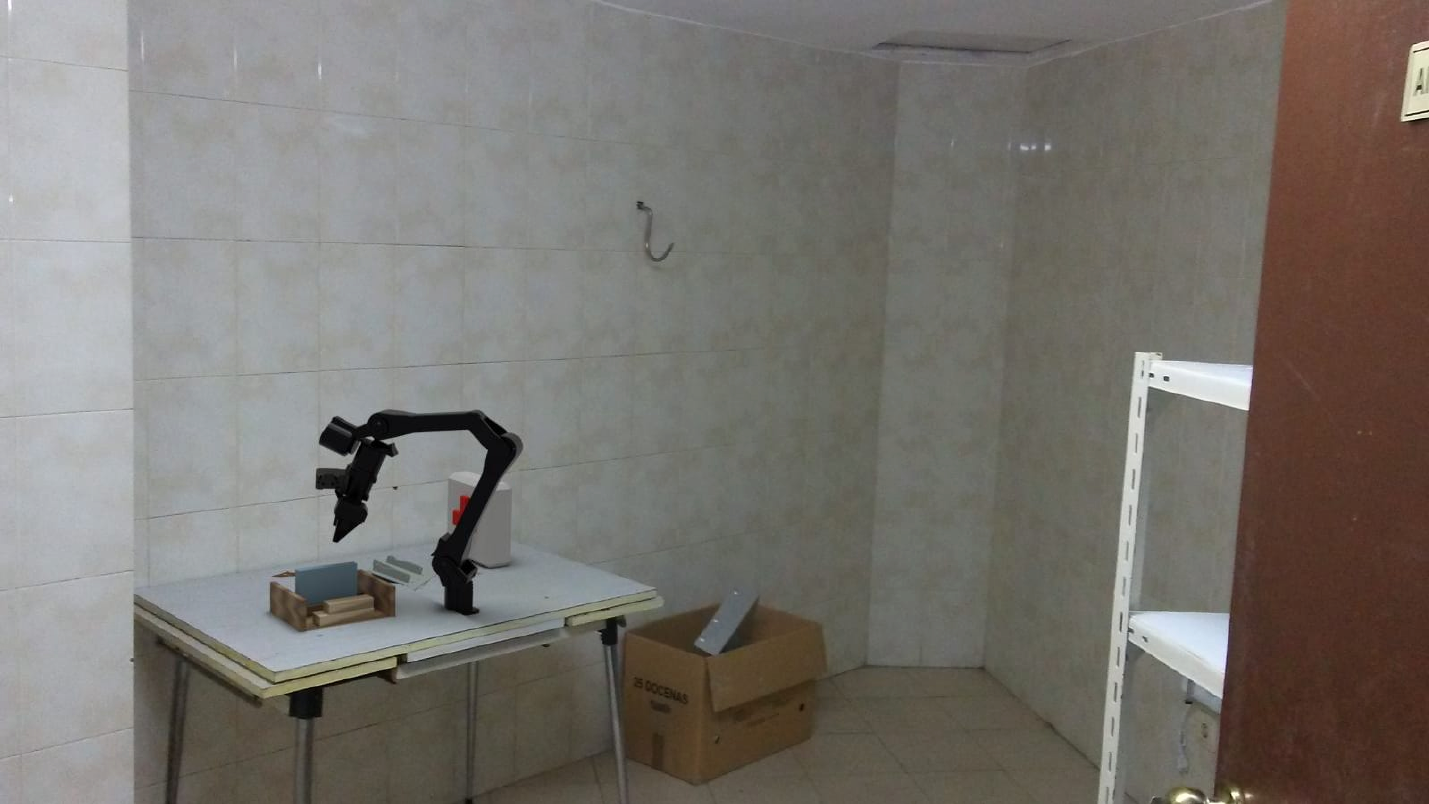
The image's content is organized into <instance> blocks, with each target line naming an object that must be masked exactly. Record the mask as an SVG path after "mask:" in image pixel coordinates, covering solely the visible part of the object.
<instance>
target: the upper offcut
mask: <svg viewBox="0 0 1429 804" xmlns="http://www.w3.org/2000/svg"><path fill="white" fill-rule="evenodd" d="M369 608H374V598H373V597H371V596H369V595H367V594H366V595H359V596H353V597H346V598H340V599H333V600H327V601H323V611H324V612H325V613H327V614H329V615H332V614H338V613H344V612H350V611H356V610H362V609H369Z"/></svg>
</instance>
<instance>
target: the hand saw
mask: <svg viewBox="0 0 1429 804" xmlns="http://www.w3.org/2000/svg"><path fill="white" fill-rule="evenodd" d="M284 574H285V575H284ZM286 574H287V575H286ZM271 577H276V578H281V577H286V578H290V577H293V578H295V572H290V570H289V571H288V570H287V571H286V570H285V571H284V572H282V573H280V574H279V573H278V574H275V575H272V576H271Z"/></svg>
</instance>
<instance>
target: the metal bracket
mask: <svg viewBox="0 0 1429 804" xmlns="http://www.w3.org/2000/svg"><path fill="white" fill-rule="evenodd" d="M423 568H424V567H423V566H421V565H419V564H416V563H413V562H412V561H411V562H410V561H408V560H399V559H397V558H395V556H394V555H392V554H389V555H387V556H386V558H384V559H381V560H378V559H376V558H375V559H373V562H372V565H371V566H370V567H369V568H367V569H365V571H366V572H368V573H370V574H372V575H374V576H377V577H379V578H380V577H381V578H383V579H386V580H387V581H388V580H389V581H391V582H394V583H396V584H399V585H402V587H405V588H407V589H410V590H412V591H414V592H416V591H418V590H420V589H419V587H420V586H421V587H422V585H423V586H424V585H426V584H427V583H428V581H429V580H430V579H431V578H433V577H436V576H437V574H436V573H435V572H434V571H431V570H428V569H426V570H424V571H423ZM437 577H438V576H437ZM437 577H436V578H437ZM430 581H431V580H430ZM430 581H429V582H430ZM421 587H420V588H421Z"/></svg>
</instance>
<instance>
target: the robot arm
mask: <svg viewBox="0 0 1429 804" xmlns="http://www.w3.org/2000/svg"><path fill="white" fill-rule="evenodd" d="M457 431H469V432H470V434H472V435H473V436H474V438H475V439H476V440H477V441H478V442H479V444H480V445H481V446H482V447H483V448H484V449H486V450H487V452H486V455H485V459H484V462H483V463H484V464H483V469H482V473H481V474H480V475H481V477H480V479H479V481H478V483H477V485H476V487H475V489H474V491H473V493H472V495H471V497H470V499H469V501H468V503H467V505H466V507H465V509H464V511H463V513H462V515H461V517H460V519H459V521H458V523H457V525H456V527H455V529H454V531H453V533H452V534H450V533H448V532H447V531H446V533H445V534H443V535H442V536H441V537H439V538H438V541H437V544H436V548H435V549H434V551H433V553H431V554H430V556H431V557H432V560H431V567H432V570H433V572H434V573H436V574H437V575H438V576H437V577H439V580H440V584H441V585H442V587H443V588H444V589H443V590H444V591H443V595H444V597H443V605H444V609H445V610H448V611H453V612H454V611H455V612H456V613H458V614H460V615H464V616H466V615H470V613H471V614H475V613H479V612H480V608H477V607H475V606H474V581H473V579H474V578H475V577H476V575H477V573H478V572H479V571H478V570H479V568H478V567H477V565H475V563H474V562H472V560H470V559H469V558H468V556H469V552H470V549H471V543H472V538H473V535H474V533H475V531H476V529H477V527H478V525H479V523H480V521H481V519H482V517H483V515H484V513H485V511H486V509H487V507H488V505H489V503H490V501H491V499H492V497H493V495H494V493H495V491H496V489H497V487H498V485H499V483H500V481H501V480H502V479H503V477H504V476H505V475H506V473H508V472H509V470H510V469H511V467H512V466H513V465H514V464H515V462H516V461H518V460H517V459H518V458H519V456H521V454H522V452H523V450H524V443H523V441H522V438H520V436H519V435H517V434H516V433H514V432H508V431H507V429H505V428H504V427H503V426H502V425H501V424H498V423H497V422H496V421H494V420H493V419H492V418H490V417H489V416H487V414H485V413H484V411H482V410H480V409H473V410H463V411H443V412H442V411H441V412H428V413H427V412H424V413H417V412H410V411H406V410H398V409H390V408H386V409H383V410H381V411H380V410H379V411H376V412H374V413H372V414H371V415H370V416H369V417H368V419H367V421H366V423H363V424H360V425H358V426H357V425H355V424H353V423H351V422H349V421H347V420H346V419H344V418H343V417H341V416H339V415H336V416H333V417H332V419H331V421H330V422H329V423H328V424H327V426H326V427H325V428H324V430H322V431H321V434H320V436H319V438H318V439H319V440H318V444H319V446H321V447H323V448H326V449H327V450H329V451H332V452H333V453H336V454H337V455H339V456H342V457H344V458H345V457H347V456H348V455H354V457H353V459H352V461H351V462H349V463H347V465H346V467H345V469H344V468H337V467H333V468H332V467H319V468H316V470H315V483H314V484H315V485H314V486H315V488H314V489H316V490H318V491H323V490H334V494H335V496H336V497H337V500H336V502H335V504H334V505H335V506H334V508H333V514H334V518H333V522H332V525H333V527H335V529H334V531H333V536H332V542H333V543H335V544H339V543H340V542H341V540H343V539H345V537H346V536H347V535H349V534H350V533H351V532H352V531H353V530H355V529H356V528H357V527H358V526H360V525H362V524H363V523H365V522H366V520H367V517H368V515H369V508H368V507H367V504H366V503H365V502H368V501H369V499H370V492H371V490H372V488H373V486H374V484H375V485H376V483H377V481H378V475H379V473H380V471H381V469H382V466H383V464H384V461H385V459H386V457H390V458H394V457H397V456H398V455H399V454H400V453H399V451H398V449H397V447H396V443H395V442H391V443H386V442H384V441H386V440H390V439H395V438H399V437H403V436H407V435H410V434H417V433H418V434H419V433H436V432H437V433H440V432H457ZM370 437H372V438H373V439H370ZM501 482H502V481H501ZM363 501H364V502H363Z"/></svg>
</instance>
